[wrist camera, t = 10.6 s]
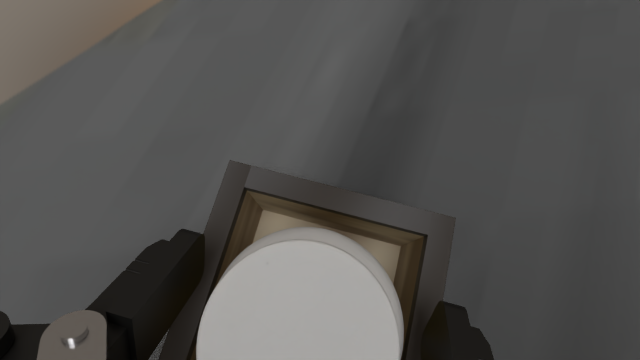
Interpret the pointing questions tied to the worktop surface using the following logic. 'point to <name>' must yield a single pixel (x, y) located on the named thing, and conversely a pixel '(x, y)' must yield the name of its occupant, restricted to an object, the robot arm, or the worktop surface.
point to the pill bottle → (302, 302)
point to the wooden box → (328, 213)
